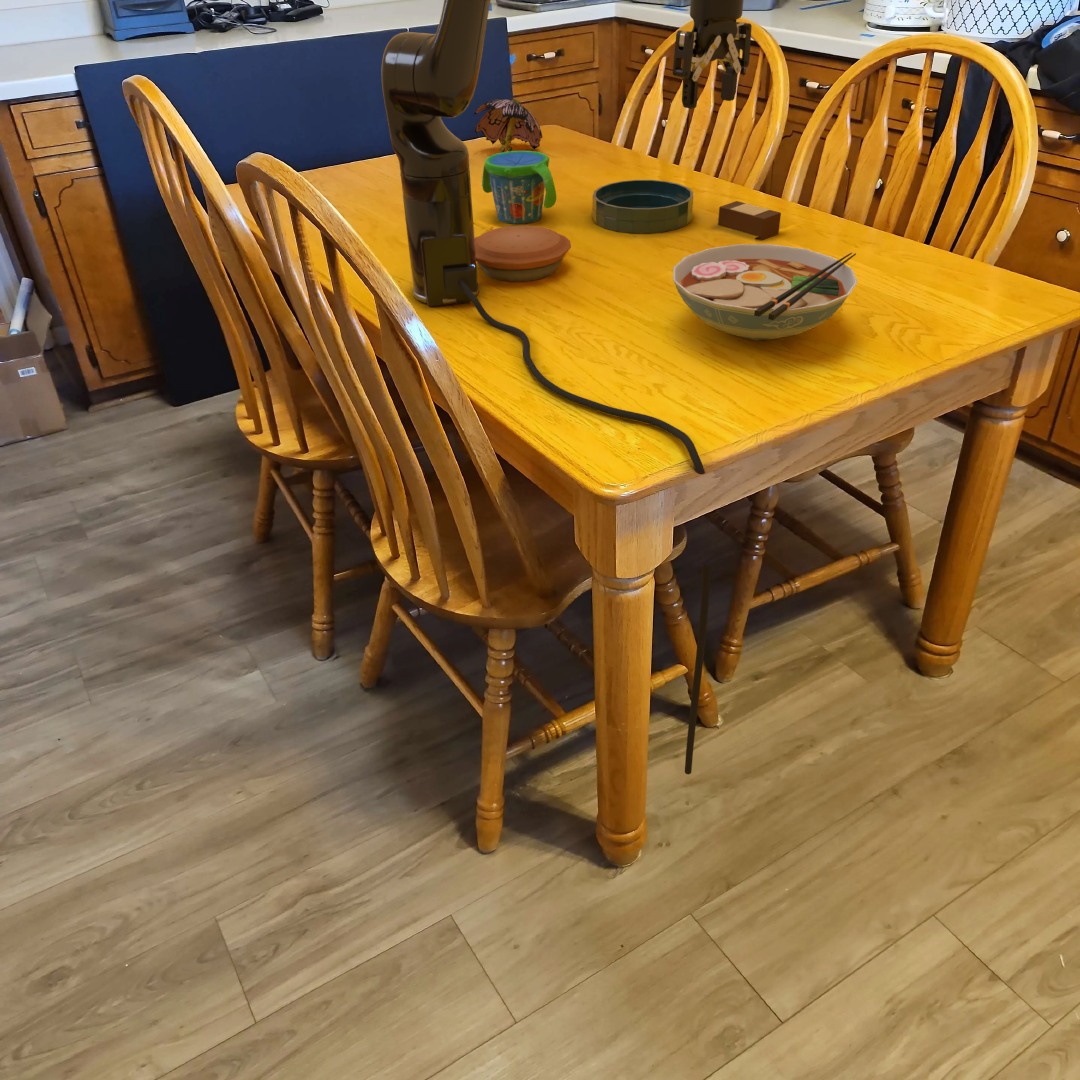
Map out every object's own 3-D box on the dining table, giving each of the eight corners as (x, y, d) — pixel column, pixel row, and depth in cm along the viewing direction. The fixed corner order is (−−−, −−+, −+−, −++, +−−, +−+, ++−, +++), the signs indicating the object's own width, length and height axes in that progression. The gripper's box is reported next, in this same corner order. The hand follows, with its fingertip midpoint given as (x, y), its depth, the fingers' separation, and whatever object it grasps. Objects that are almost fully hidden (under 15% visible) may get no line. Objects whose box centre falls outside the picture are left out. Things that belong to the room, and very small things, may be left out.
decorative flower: (560, 99, 194) (501, 86, 185) (559, 159, 196) (500, 149, 187) (517, 110, 205) (459, 98, 196) (516, 167, 207) (459, 158, 198)
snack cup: (467, 216, 165) (463, 155, 159) (515, 203, 170) (512, 143, 164) (523, 238, 155) (521, 173, 149) (572, 223, 160) (572, 160, 154)
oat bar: (778, 233, 153) (781, 212, 151) (761, 240, 150) (763, 218, 148) (734, 221, 158) (736, 200, 156) (717, 227, 156) (719, 206, 154)
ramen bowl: (729, 281, 137) (734, 224, 132) (881, 318, 125) (893, 257, 120) (629, 340, 121) (630, 278, 117) (792, 389, 109) (801, 322, 105)
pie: (552, 246, 151) (551, 214, 148) (585, 279, 139) (585, 245, 136) (458, 258, 148) (455, 226, 145) (484, 293, 136) (481, 259, 133)
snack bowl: (705, 231, 155) (707, 204, 152) (606, 240, 152) (606, 213, 150) (674, 201, 168) (675, 176, 165) (583, 210, 166) (583, 184, 163)
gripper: (704, -14, 129) (695, 114, 138) (771, -22, 136) (758, 100, 146) (664, -17, 134) (658, 107, 143) (731, -25, 141) (721, 94, 150)
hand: (708, 103), depth 144 cm, fingers open, 8 cm apart
